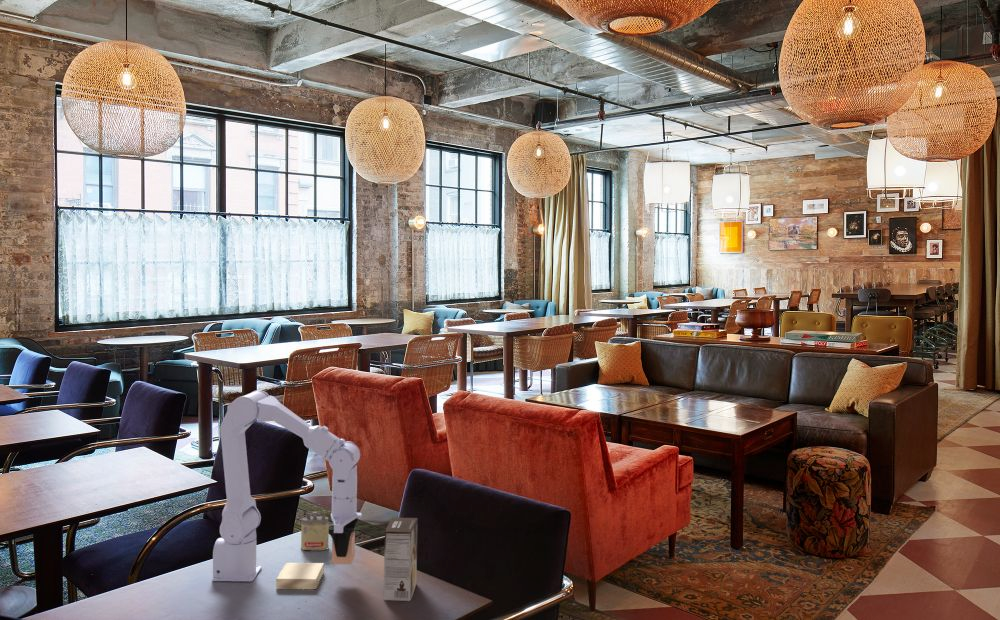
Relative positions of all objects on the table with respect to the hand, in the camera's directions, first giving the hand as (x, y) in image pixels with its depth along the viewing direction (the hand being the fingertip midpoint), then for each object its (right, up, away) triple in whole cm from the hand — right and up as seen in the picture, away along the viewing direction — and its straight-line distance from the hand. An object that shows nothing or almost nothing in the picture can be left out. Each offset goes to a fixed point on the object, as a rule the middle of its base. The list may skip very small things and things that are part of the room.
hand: (343, 552), depth 173 cm
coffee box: (+14, -8, -4) cm, 17 cm away
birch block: (-10, -7, 0) cm, 13 cm away
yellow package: (-12, -6, +20) cm, 24 cm away
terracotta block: (0, -2, 0) cm, 2 cm away
